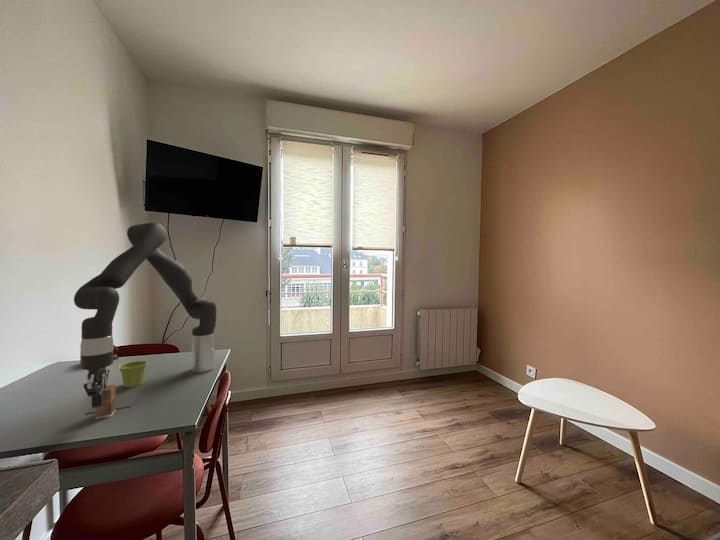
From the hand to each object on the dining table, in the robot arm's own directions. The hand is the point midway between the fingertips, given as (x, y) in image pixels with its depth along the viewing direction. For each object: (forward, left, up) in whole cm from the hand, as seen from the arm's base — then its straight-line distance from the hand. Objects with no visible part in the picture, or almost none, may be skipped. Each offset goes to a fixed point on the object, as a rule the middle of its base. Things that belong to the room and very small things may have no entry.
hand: (97, 406), depth 89 cm
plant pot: (-2, -32, -6) cm, 33 cm away
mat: (0, -16, -6) cm, 17 cm away
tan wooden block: (0, -7, -6) cm, 9 cm away
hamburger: (+19, -70, -6) cm, 72 cm away
